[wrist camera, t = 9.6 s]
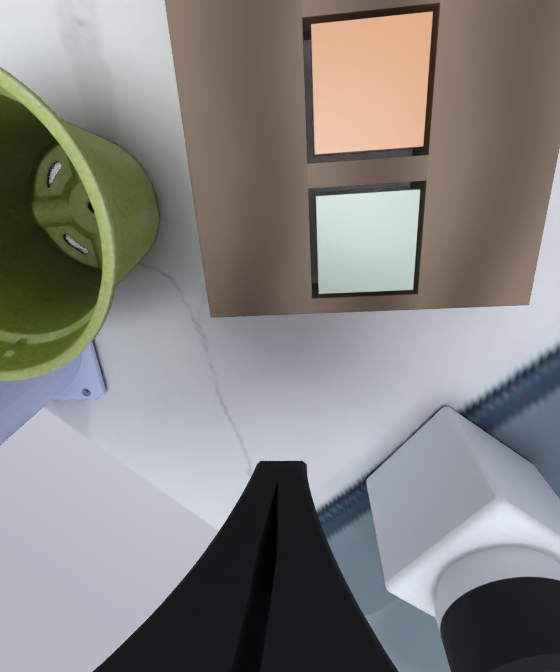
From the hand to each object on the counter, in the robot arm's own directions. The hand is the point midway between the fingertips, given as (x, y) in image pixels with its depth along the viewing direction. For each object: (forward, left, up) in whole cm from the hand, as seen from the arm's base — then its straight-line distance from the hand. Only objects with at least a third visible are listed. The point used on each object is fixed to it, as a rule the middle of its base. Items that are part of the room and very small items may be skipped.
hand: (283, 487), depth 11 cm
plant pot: (-9, +8, -11) cm, 16 cm away
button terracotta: (+3, +11, -10) cm, 15 cm away
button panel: (+3, +11, -10) cm, 15 cm away
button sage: (+3, +6, -10) cm, 12 cm away
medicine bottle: (+9, -9, -11) cm, 16 cm away
